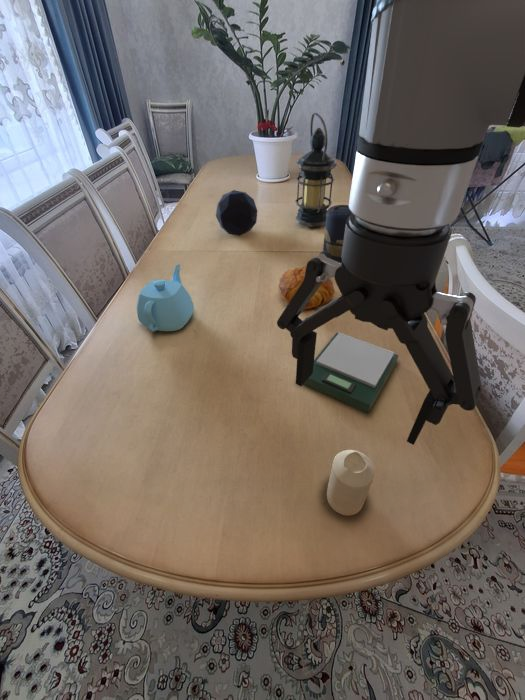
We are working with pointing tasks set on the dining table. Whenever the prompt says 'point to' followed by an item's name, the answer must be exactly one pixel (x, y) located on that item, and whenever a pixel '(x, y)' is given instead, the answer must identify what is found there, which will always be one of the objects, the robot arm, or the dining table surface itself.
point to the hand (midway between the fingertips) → (354, 404)
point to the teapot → (165, 304)
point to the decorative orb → (236, 212)
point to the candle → (349, 482)
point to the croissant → (293, 281)
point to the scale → (352, 371)
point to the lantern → (315, 179)
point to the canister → (335, 230)
